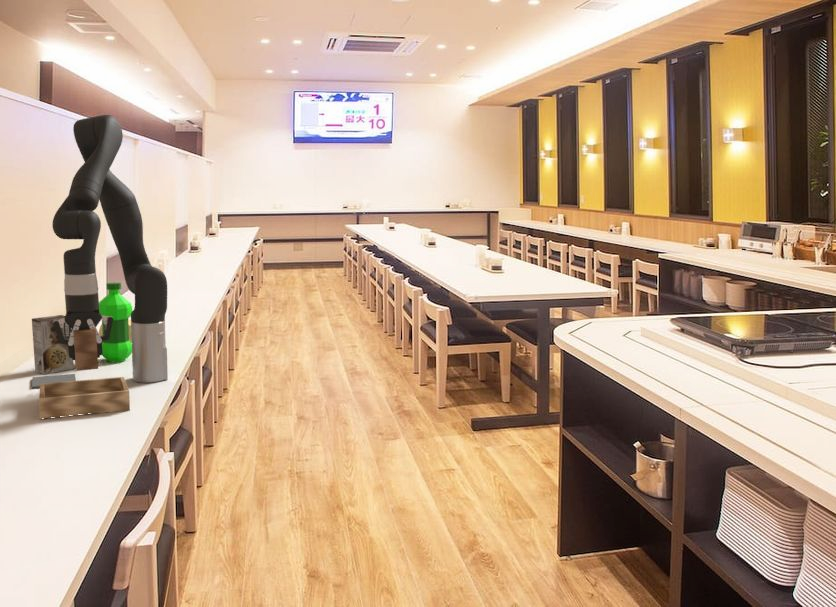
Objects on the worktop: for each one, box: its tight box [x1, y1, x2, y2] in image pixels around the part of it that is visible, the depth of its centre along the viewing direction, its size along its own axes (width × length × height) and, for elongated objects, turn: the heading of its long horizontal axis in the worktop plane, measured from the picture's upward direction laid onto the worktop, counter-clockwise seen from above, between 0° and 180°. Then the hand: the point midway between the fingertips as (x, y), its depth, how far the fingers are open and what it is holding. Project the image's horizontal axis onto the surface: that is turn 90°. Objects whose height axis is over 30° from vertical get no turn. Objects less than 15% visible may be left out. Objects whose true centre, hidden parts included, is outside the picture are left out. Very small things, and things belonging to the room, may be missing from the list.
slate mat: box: [31, 373, 77, 390], centre depth 204 cm, size 11×11×1 cm
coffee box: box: [31, 314, 75, 375], centre depth 216 cm, size 9×6×16 cm
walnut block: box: [73, 328, 99, 372], centre depth 180 cm, size 5×5×10 cm
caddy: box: [38, 376, 131, 420], centre depth 182 cm, size 20×15×5 cm
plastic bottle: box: [99, 282, 133, 363], centre depth 229 cm, size 10×10×25 cm
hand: (85, 358), depth 180 cm, fingers closed on walnut block, 5 cm apart
